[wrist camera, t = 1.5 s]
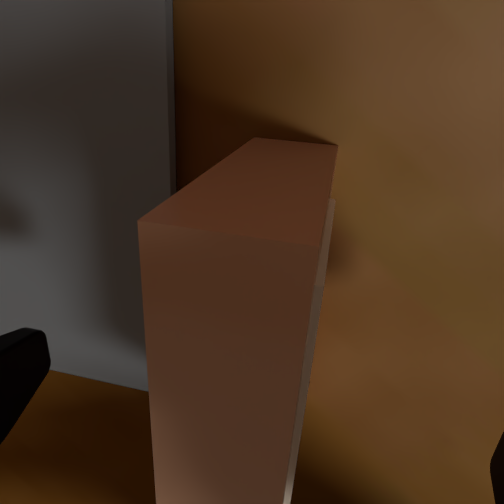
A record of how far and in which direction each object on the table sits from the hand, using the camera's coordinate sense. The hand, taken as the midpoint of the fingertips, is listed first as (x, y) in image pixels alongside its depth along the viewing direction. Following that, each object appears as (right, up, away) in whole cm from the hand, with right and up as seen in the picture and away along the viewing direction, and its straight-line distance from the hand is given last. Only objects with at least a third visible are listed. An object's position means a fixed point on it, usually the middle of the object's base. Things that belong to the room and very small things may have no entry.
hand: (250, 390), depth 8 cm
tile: (+1, +2, +4) cm, 4 cm away
